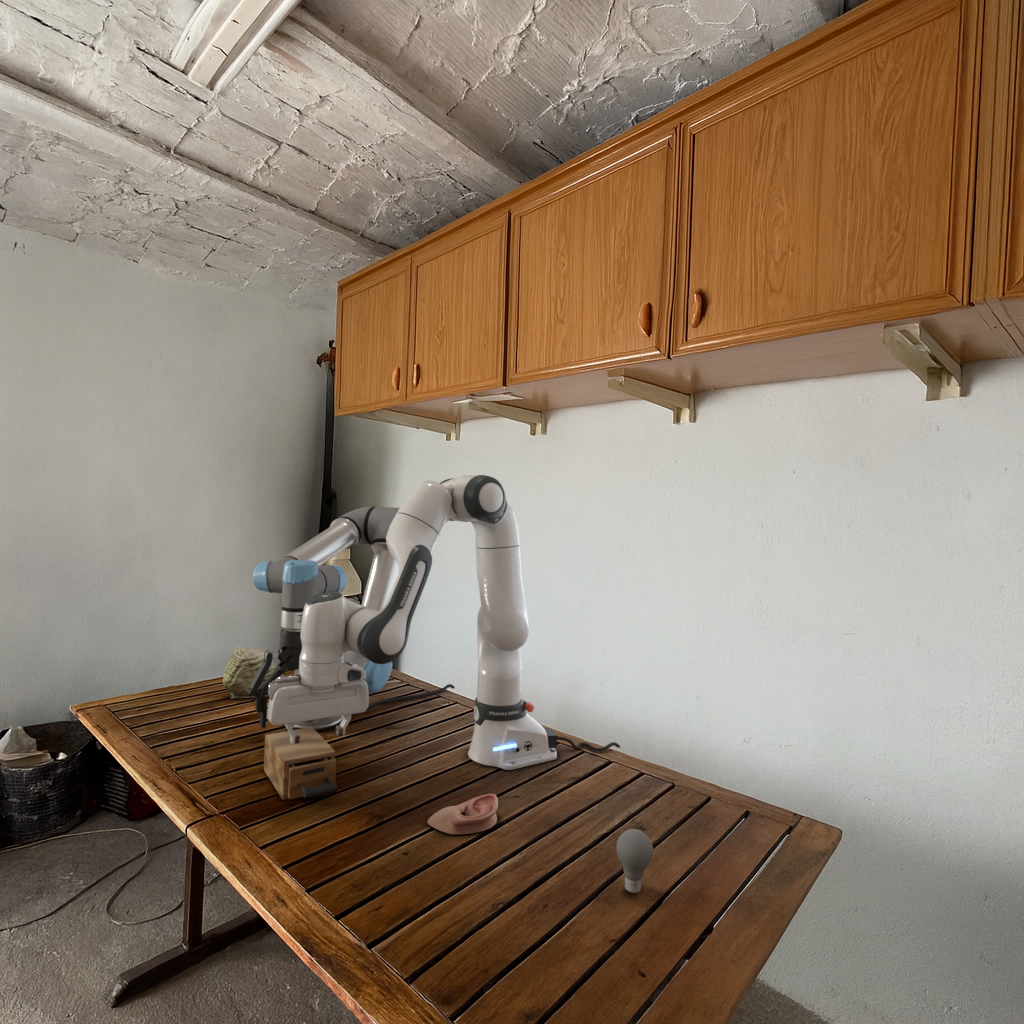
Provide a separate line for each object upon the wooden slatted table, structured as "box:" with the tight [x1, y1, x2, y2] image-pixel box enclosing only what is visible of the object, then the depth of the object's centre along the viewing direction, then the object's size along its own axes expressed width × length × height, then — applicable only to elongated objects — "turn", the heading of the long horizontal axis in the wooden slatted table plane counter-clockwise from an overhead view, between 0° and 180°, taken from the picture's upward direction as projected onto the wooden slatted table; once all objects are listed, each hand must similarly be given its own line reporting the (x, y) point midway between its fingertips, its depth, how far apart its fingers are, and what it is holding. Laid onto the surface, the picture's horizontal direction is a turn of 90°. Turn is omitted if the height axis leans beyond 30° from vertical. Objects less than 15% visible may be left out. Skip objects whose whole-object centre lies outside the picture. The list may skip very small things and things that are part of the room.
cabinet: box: [263, 727, 336, 801], centre depth 141 cm, size 16×11×8 cm, turn 35°
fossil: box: [222, 646, 285, 699], centre depth 198 cm, size 9×18×15 cm, turn 132°
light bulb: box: [615, 828, 654, 894], centre depth 106 cm, size 6×6×10 cm
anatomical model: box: [427, 793, 499, 836], centre depth 126 cm, size 13×4×12 cm
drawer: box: [288, 757, 338, 801], centre depth 137 cm, size 20×10×6 cm, turn 34°
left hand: (293, 721), depth 144 cm, fingers open, 13 cm apart
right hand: (317, 739), depth 131 cm, fingers open, 8 cm apart
